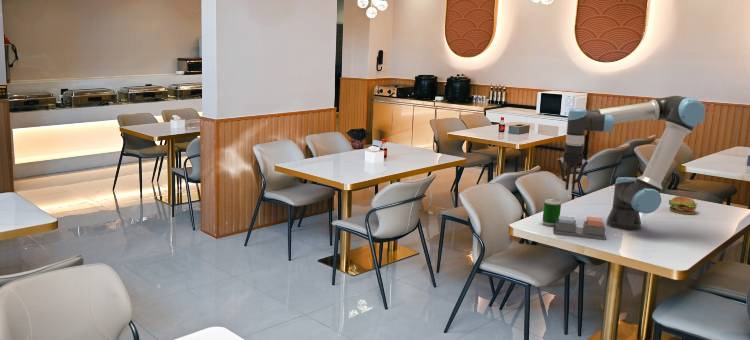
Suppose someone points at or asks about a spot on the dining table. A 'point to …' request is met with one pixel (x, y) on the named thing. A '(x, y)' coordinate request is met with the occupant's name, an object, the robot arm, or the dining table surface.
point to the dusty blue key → (566, 220)
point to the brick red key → (594, 222)
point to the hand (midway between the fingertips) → (569, 197)
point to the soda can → (551, 211)
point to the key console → (579, 230)
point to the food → (682, 205)
